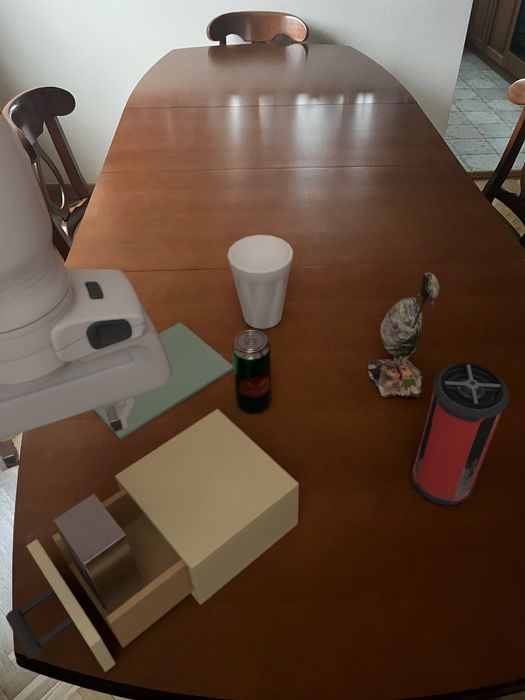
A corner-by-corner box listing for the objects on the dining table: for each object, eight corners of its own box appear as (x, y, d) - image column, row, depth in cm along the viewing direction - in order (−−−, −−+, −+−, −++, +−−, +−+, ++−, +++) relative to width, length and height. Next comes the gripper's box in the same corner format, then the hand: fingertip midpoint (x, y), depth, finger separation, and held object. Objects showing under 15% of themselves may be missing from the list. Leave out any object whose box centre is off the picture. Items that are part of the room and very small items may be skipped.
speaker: (408, 453, 78) (431, 355, 65) (468, 457, 77) (503, 359, 64) (413, 504, 72) (439, 408, 60) (477, 509, 71) (518, 413, 59)
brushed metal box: (110, 619, 61) (82, 565, 53) (81, 577, 65) (51, 520, 56) (147, 590, 63) (125, 534, 55) (117, 551, 67) (93, 493, 58)
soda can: (240, 418, 83) (234, 357, 74) (233, 391, 86) (228, 331, 78) (275, 411, 83) (274, 350, 75) (267, 385, 87) (265, 325, 79)
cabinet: (200, 605, 64) (191, 568, 58) (129, 515, 72) (114, 475, 66) (298, 523, 71) (299, 483, 65) (222, 450, 79) (217, 408, 73)
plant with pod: (421, 350, 91) (445, 241, 78) (423, 405, 83) (450, 294, 70) (368, 345, 93) (382, 236, 79) (365, 399, 85) (380, 288, 71)
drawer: (60, 709, 56) (40, 686, 52) (2, 604, 64) (-20, 576, 59) (213, 583, 65) (207, 554, 60) (146, 504, 72) (136, 472, 67)
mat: (120, 440, 80) (119, 437, 80) (71, 384, 88) (70, 382, 88) (234, 369, 90) (234, 366, 89) (180, 324, 97) (180, 321, 97)
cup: (296, 336, 95) (297, 269, 86) (233, 340, 94) (228, 274, 85) (289, 297, 102) (289, 232, 93) (231, 300, 101) (226, 236, 92)
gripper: (-148, 401, 37) (-59, 517, 47) (165, 311, 43) (187, 430, 52) (-142, 340, 41) (-62, 457, 51) (141, 265, 47) (166, 383, 56)
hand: (66, 443), depth 52 cm, fingers open, 8 cm apart
